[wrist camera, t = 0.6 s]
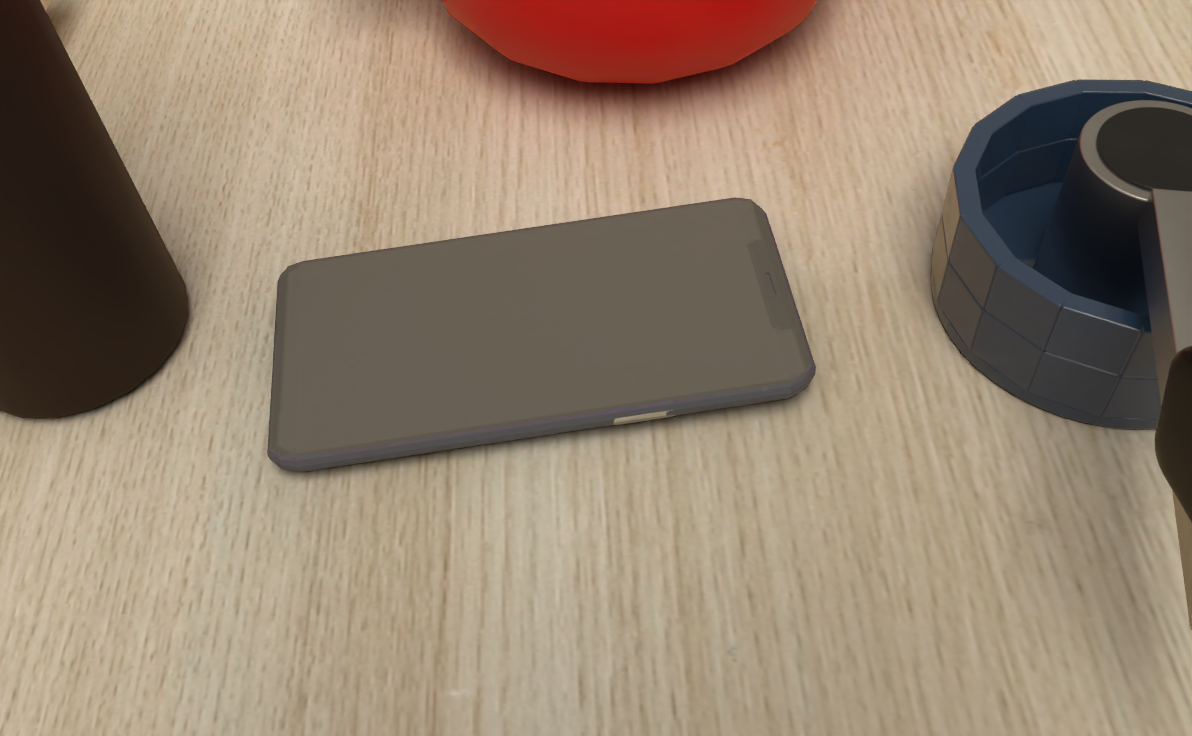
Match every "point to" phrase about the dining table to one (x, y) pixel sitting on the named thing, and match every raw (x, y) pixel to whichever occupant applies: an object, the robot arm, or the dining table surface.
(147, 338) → the bottle
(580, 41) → the teapot
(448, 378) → the smartphone
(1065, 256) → the scoop
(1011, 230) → the bowl
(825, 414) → the dining table surface
